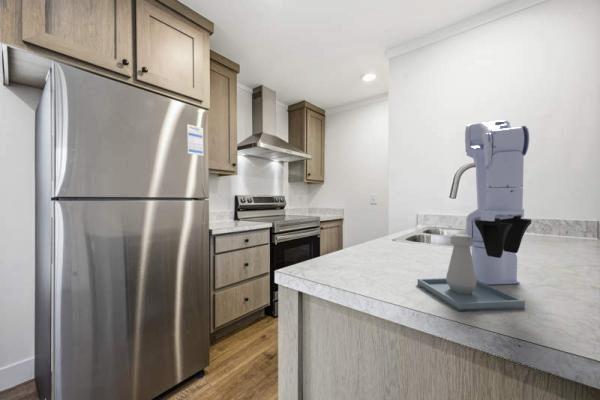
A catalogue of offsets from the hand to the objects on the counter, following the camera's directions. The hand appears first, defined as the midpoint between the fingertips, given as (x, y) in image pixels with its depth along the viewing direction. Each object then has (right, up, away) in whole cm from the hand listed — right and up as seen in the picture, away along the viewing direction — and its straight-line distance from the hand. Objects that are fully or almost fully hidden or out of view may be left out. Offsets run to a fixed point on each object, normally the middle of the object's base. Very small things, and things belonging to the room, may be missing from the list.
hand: (502, 254), depth 50 cm
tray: (-4, -10, +5) cm, 12 cm away
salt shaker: (-5, -10, +6) cm, 12 cm away
